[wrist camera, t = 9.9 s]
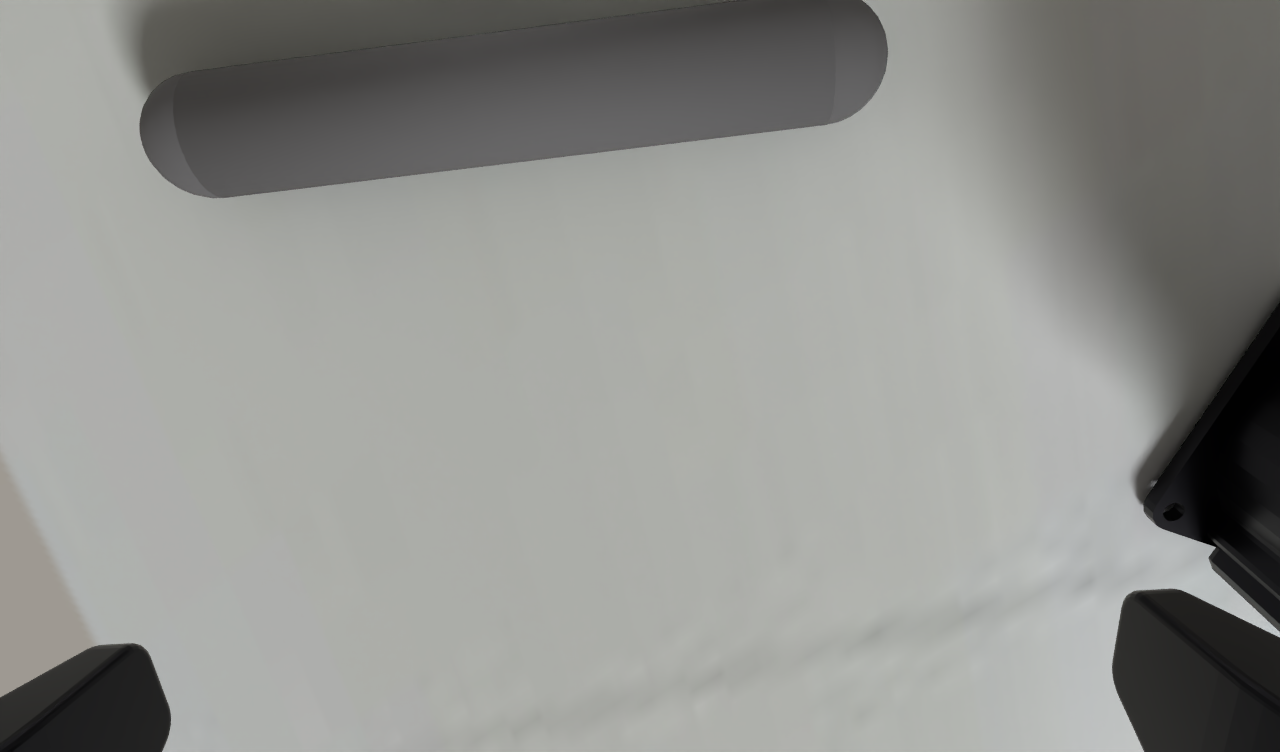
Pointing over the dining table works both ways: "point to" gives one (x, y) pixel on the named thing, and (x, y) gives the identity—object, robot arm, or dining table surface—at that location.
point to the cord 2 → (515, 96)
